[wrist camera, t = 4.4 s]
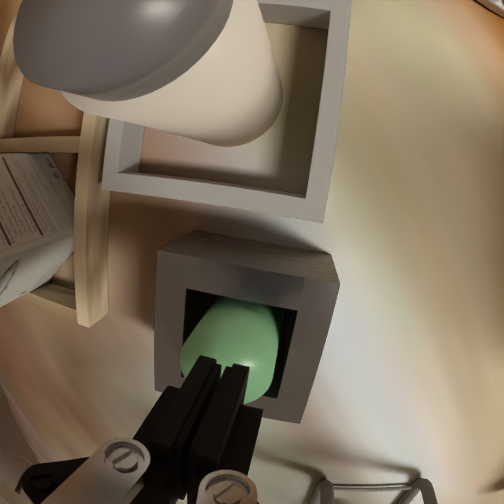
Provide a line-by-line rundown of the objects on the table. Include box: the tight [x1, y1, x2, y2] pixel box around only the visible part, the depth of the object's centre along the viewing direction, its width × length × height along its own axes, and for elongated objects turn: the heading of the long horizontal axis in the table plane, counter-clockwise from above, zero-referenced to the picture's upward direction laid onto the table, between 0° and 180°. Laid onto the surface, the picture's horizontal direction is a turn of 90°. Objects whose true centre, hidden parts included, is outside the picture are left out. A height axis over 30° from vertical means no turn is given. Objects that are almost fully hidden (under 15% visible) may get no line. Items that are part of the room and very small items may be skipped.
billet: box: [13, 0, 283, 147], centre depth 10 cm, size 6×6×13 cm
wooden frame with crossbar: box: [0, 12, 110, 327], centre depth 18 cm, size 23×12×2 cm, turn 172°
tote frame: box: [101, 0, 351, 223], centre depth 15 cm, size 12×12×2 cm
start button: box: [180, 295, 283, 404], centre depth 16 cm, size 4×4×6 cm
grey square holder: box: [154, 230, 340, 424], centre depth 17 cm, size 8×8×5 cm
